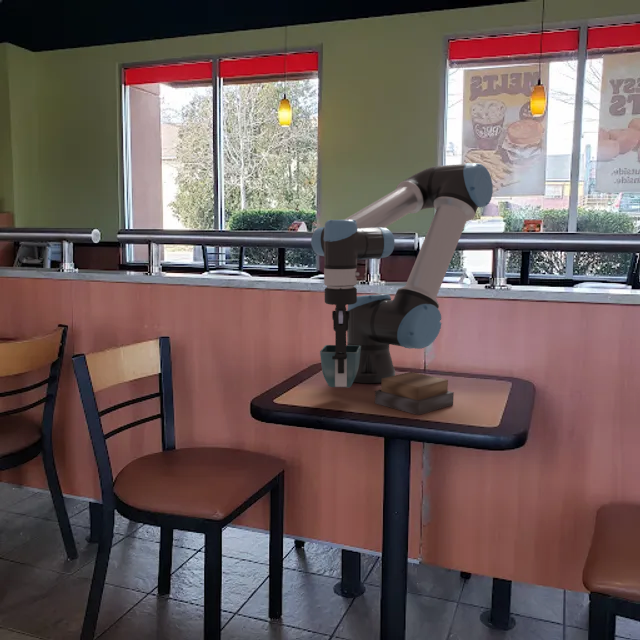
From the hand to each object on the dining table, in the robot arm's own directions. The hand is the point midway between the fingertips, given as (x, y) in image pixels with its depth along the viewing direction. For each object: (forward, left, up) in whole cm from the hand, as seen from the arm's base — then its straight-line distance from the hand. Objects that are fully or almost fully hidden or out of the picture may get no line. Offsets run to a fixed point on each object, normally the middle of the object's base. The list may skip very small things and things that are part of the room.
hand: (341, 381), depth 154 cm
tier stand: (+13, +11, -5) cm, 18 cm away
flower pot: (0, 0, -1) cm, 1 cm away
